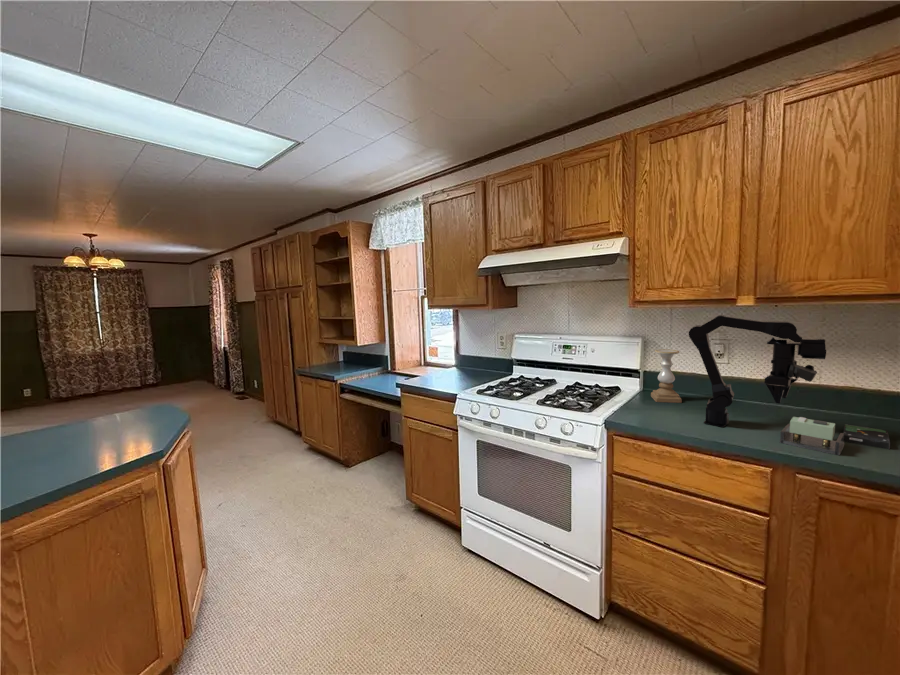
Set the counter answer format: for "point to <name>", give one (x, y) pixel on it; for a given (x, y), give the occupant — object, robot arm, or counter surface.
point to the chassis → (812, 441)
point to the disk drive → (866, 436)
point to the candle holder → (666, 379)
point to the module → (812, 428)
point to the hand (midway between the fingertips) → (781, 400)
